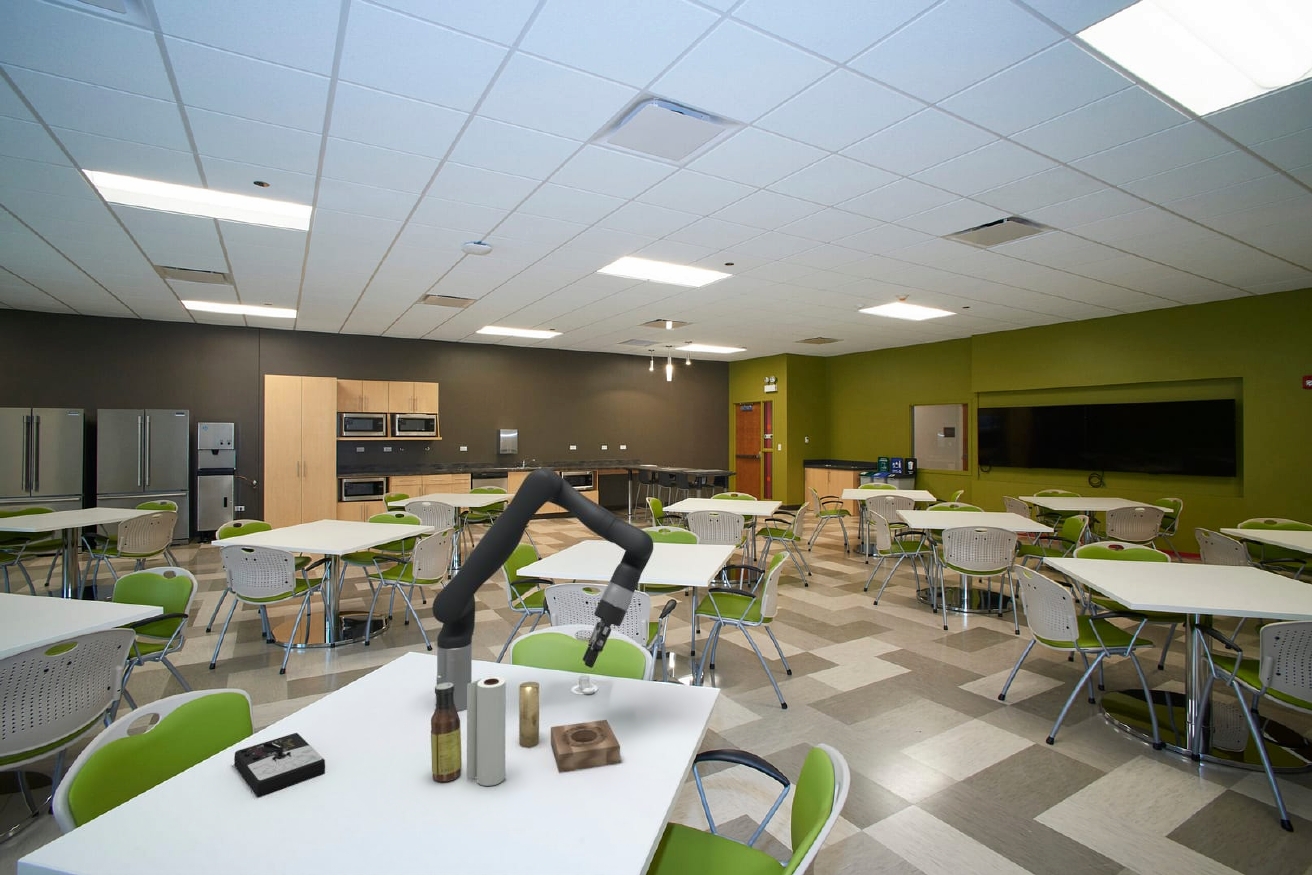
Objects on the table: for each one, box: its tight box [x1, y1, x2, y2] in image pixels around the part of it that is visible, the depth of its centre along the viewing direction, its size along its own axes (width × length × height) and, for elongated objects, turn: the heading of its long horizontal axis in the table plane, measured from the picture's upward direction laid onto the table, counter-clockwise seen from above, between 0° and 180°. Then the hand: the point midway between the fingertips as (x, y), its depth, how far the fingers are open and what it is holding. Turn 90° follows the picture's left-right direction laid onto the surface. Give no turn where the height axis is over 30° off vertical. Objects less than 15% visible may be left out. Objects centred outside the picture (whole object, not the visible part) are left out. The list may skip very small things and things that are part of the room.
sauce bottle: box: [430, 683, 463, 783], centre depth 136 cm, size 7×6×20 cm
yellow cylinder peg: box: [518, 681, 540, 749], centre depth 151 cm, size 5×5×14 cm
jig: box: [550, 719, 621, 774], centre depth 146 cm, size 14×14×4 cm
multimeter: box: [233, 732, 326, 798], centre depth 138 cm, size 13×19×5 cm
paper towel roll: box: [466, 676, 507, 787], centre depth 135 cm, size 7×6×21 cm
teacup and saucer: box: [570, 674, 599, 695], centre depth 183 cm, size 9×8×4 cm
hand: (587, 664), depth 156 cm, fingers open, 8 cm apart
